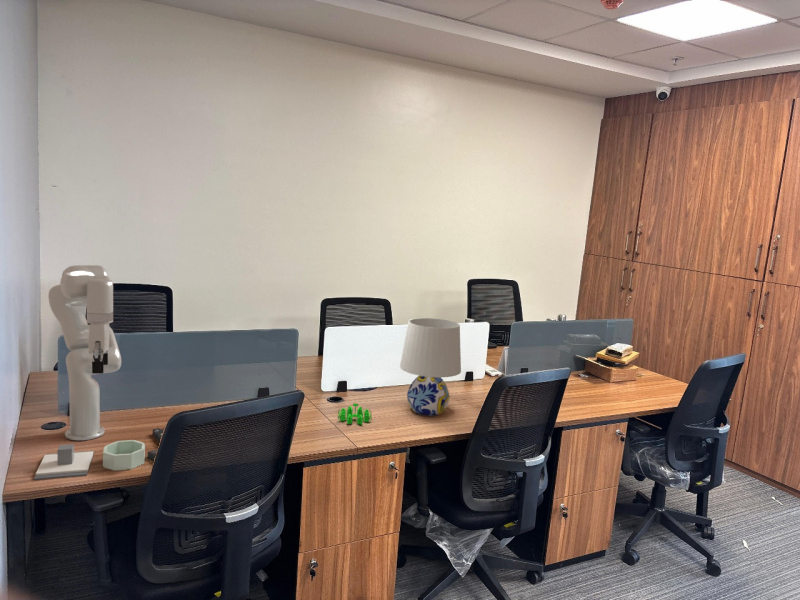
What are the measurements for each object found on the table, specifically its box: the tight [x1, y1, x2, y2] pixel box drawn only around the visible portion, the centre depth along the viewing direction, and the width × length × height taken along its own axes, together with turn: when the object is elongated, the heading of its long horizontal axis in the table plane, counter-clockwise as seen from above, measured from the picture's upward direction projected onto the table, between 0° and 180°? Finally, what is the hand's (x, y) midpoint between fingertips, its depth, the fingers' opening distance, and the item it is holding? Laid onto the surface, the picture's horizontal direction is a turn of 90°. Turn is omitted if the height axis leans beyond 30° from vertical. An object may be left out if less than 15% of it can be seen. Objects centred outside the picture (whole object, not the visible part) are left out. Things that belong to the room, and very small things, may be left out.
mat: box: [33, 450, 95, 481], centre depth 187 cm, size 18×14×1 cm
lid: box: [35, 443, 94, 476], centre depth 186 cm, size 14×14×6 cm
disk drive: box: [152, 427, 165, 443], centre depth 213 cm, size 10×3×15 cm
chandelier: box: [337, 403, 373, 426], centre depth 245 cm, size 15×15×7 cm
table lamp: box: [399, 317, 462, 417], centre depth 261 cm, size 27×27×40 cm
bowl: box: [102, 439, 146, 472], centre depth 192 cm, size 12×12×5 cm
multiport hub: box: [147, 449, 157, 462], centre depth 195 cm, size 4×11×2 cm, turn 50°
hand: (100, 368), depth 191 cm, fingers open, 9 cm apart
